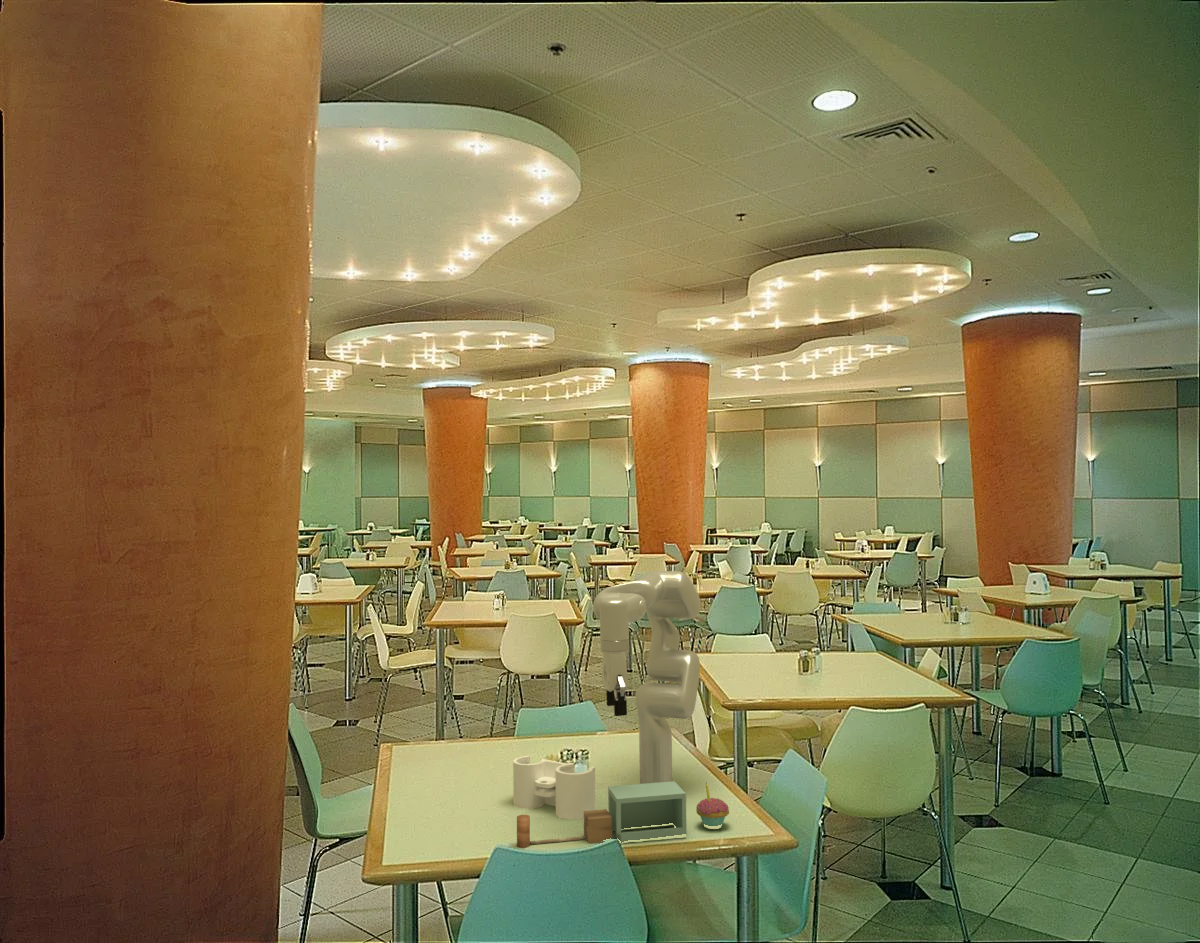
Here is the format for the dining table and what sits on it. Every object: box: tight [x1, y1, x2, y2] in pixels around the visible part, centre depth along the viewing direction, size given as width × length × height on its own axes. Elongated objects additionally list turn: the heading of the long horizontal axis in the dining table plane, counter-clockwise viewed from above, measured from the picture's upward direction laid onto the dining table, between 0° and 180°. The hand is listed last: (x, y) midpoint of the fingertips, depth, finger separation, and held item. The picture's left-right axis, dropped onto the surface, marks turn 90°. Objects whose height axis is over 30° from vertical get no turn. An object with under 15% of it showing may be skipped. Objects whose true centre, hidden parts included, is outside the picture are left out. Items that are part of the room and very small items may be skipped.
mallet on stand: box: [516, 808, 613, 849], centre depth 227 cm, size 6×24×7 cm, turn 103°
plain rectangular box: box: [607, 780, 688, 843], centre depth 231 cm, size 10×18×11 cm, turn 102°
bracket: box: [512, 755, 596, 820], centre depth 251 cm, size 25×10×12 cm, turn 58°
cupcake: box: [695, 781, 730, 826], centre depth 236 cm, size 9×8×12 cm
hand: (616, 710), depth 236 cm, fingers open, 9 cm apart
